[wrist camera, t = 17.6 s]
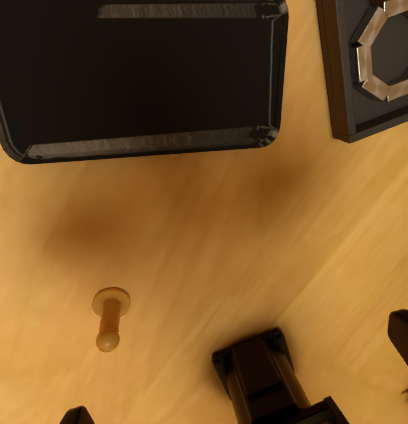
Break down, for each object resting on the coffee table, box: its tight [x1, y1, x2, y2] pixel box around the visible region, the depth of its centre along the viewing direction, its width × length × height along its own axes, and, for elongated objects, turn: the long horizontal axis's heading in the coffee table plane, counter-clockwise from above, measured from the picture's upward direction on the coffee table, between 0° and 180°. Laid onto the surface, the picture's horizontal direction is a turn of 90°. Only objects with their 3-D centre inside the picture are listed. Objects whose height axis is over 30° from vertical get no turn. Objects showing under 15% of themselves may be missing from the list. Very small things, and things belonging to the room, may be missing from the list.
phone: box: [0, 0, 289, 164], centre depth 16 cm, size 8×1×15 cm
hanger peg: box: [93, 288, 131, 352], centre depth 20 cm, size 3×3×4 cm
